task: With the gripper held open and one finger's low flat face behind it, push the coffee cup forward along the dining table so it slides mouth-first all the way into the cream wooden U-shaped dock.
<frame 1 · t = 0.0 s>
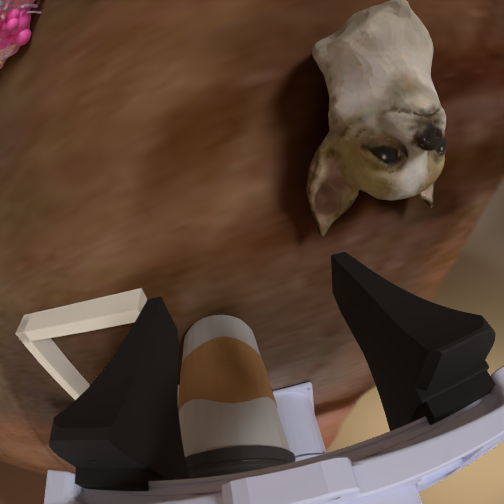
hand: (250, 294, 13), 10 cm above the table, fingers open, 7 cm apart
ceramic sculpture: (358, 114, 20), on the table
dock: (117, 356, 29), on the table
coffee cup: (218, 335, 29), on the table
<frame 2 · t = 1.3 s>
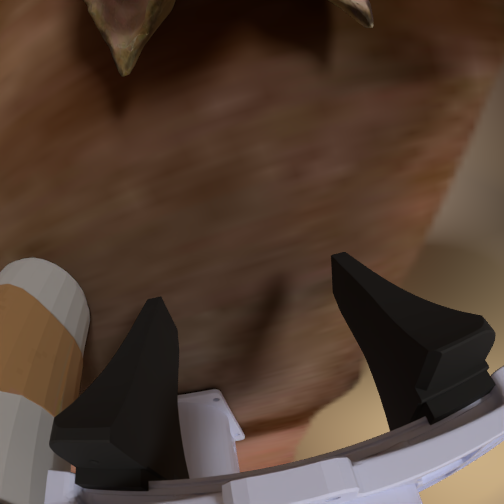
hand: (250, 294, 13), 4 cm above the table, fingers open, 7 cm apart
coffee cup: (45, 296, 16), on the table
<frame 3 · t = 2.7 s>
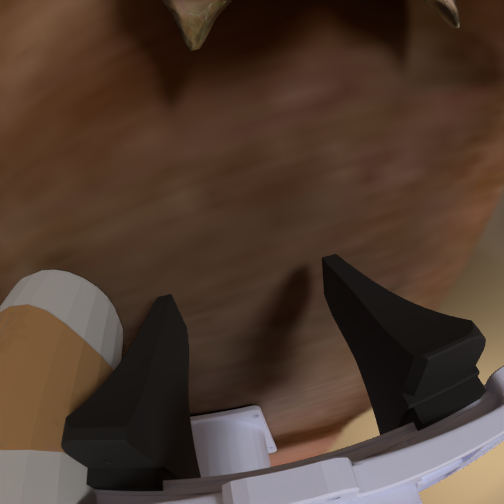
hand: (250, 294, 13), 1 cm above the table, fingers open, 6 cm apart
coffee cup: (68, 313, 14), on the table, touching gripper
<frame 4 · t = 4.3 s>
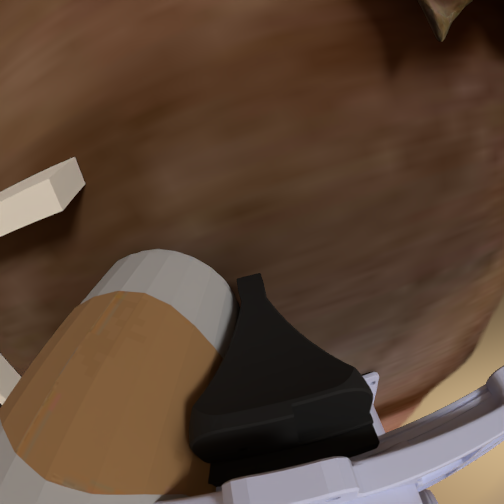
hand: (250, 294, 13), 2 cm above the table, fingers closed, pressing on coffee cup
dock: (46, 322, 14), on the table
coffee cup: (175, 300, 14), point 1 cm above the table, touching gripper
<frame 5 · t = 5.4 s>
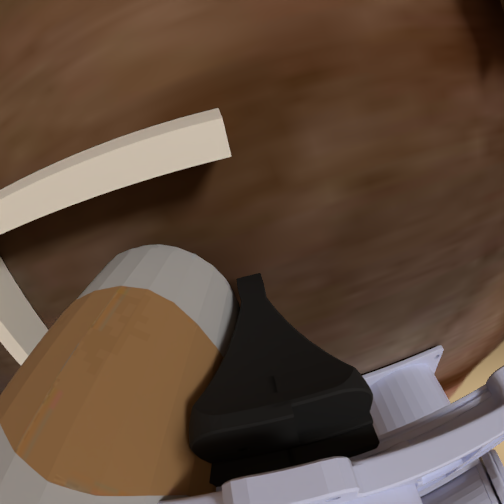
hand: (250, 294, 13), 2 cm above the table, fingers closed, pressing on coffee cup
dock: (134, 302, 15), on the table
coffee cup: (173, 297, 14), point 1 cm above the table, touching gripper
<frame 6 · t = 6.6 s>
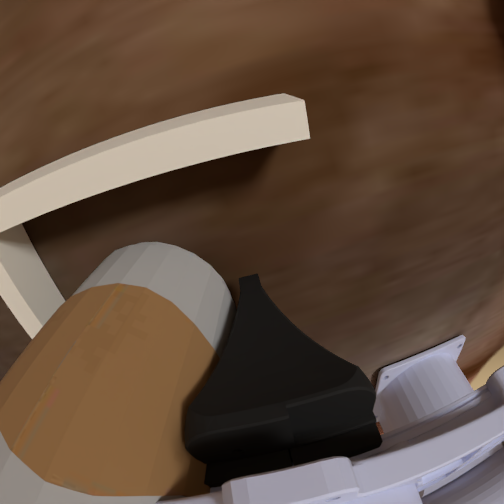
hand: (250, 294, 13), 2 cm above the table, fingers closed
dock: (180, 290, 15), on the table
coffee cup: (169, 295, 14), point 1 cm above the table, touching gripper
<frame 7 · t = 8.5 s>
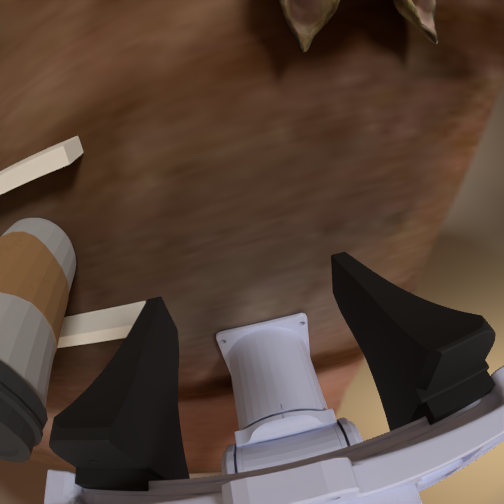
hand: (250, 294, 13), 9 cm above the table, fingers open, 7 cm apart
dock: (48, 253, 21), on the table
coffee cup: (42, 250, 21), on the table
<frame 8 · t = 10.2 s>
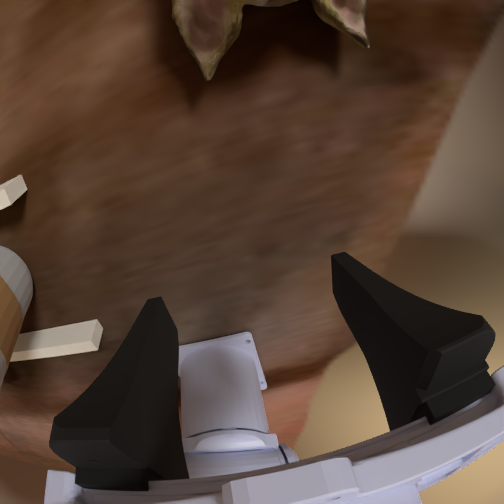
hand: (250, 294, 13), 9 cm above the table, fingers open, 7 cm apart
dock: (11, 277, 21), on the table
coffee cup: (6, 273, 21), on the table
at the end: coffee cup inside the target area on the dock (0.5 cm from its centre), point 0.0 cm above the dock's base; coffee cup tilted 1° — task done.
